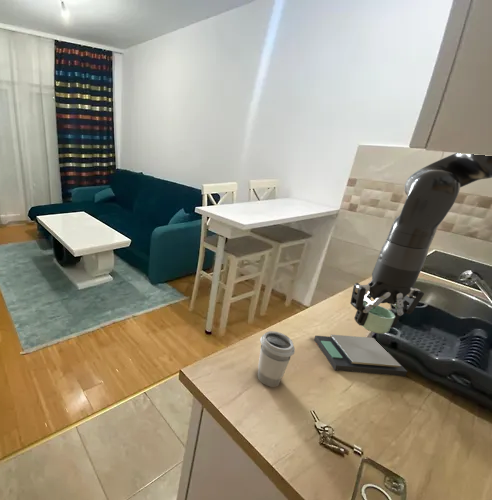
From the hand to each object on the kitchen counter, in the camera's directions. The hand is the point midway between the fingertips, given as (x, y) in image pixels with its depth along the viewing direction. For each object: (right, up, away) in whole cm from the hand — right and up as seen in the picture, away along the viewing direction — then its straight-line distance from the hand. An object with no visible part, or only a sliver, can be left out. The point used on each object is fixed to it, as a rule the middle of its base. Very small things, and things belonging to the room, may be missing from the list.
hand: (373, 324), depth 70 cm
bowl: (0, -1, 0) cm, 1 cm away
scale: (-1, -10, +4) cm, 11 cm away
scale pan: (0, -7, +3) cm, 8 cm away
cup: (-27, -13, -3) cm, 30 cm away
